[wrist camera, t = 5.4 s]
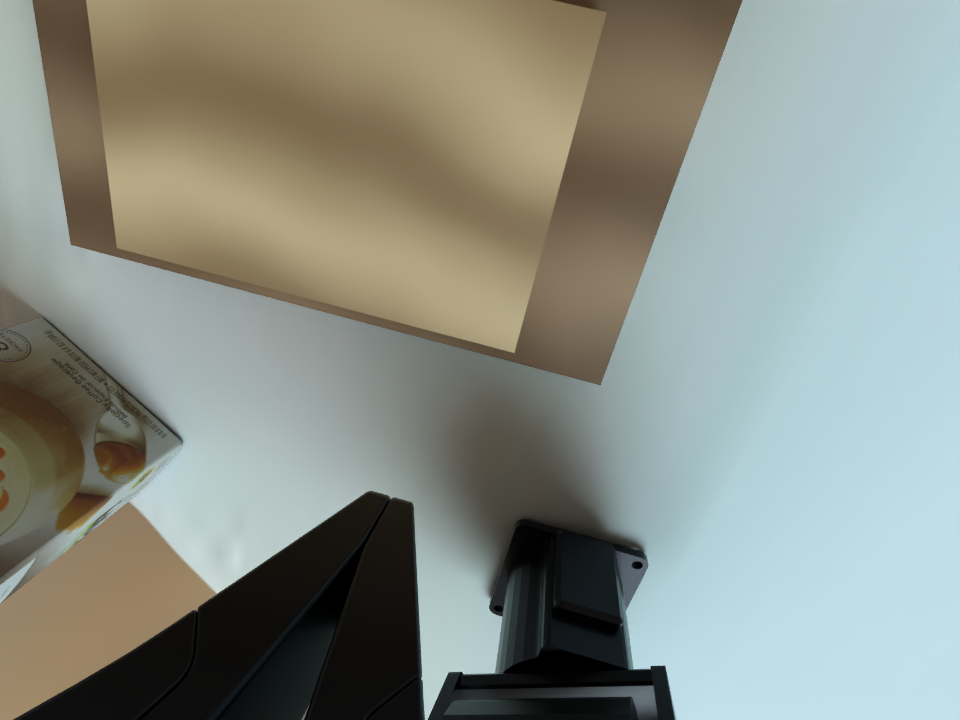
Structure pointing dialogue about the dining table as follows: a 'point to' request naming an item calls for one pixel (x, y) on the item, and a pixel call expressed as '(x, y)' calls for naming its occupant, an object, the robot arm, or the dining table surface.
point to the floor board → (581, 196)
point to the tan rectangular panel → (346, 146)
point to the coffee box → (64, 449)
